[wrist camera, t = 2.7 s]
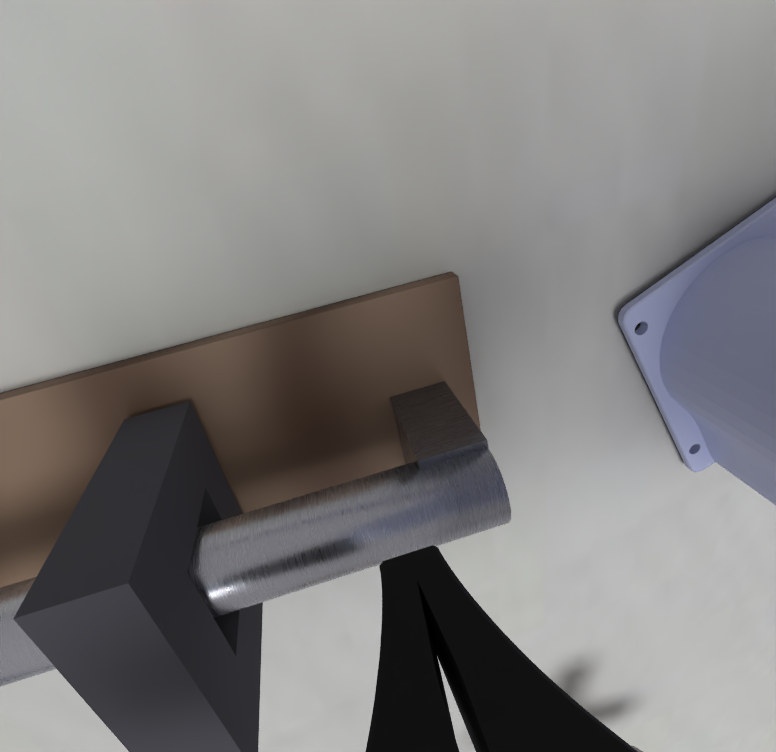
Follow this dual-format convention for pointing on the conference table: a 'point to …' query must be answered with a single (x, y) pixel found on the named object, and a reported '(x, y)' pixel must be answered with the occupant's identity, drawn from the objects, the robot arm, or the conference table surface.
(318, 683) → the conference table surface
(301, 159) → the conference table surface
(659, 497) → the conference table surface
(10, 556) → the walnut board
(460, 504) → the steel pipe
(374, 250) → the conference table surface
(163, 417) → the rubber collar
